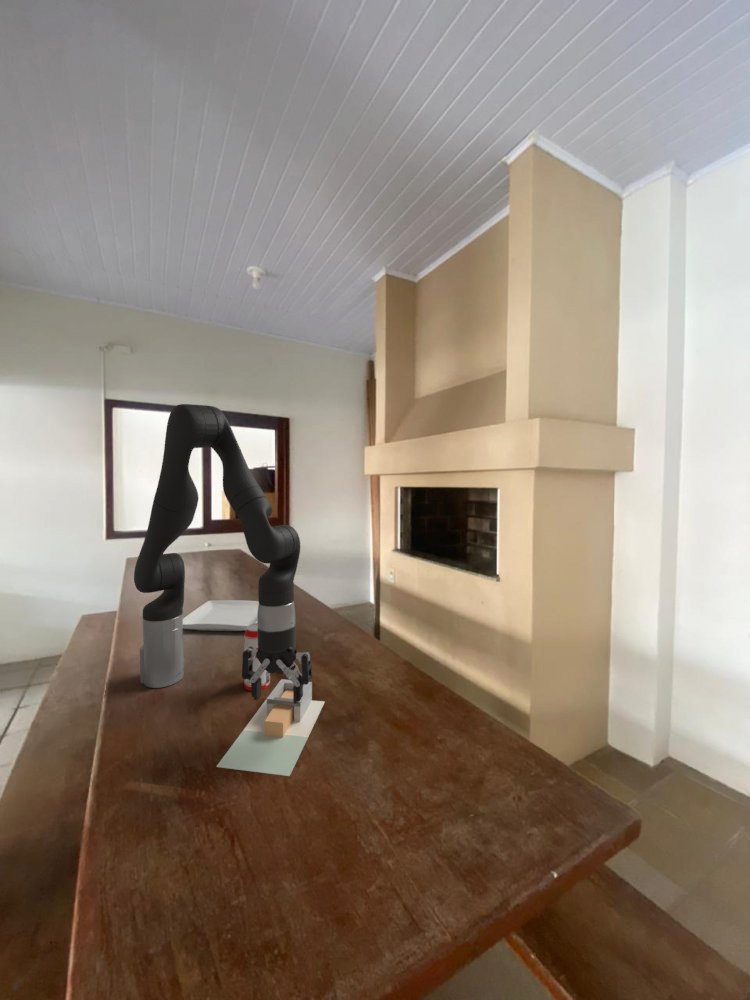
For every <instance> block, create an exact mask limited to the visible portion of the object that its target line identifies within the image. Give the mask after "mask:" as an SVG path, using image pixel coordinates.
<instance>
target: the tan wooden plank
mask: <svg viewBox="0 0 750 1000" xmlns="http://www.w3.org/2000/svg"><path fill="white" fill-rule="evenodd" d="M281 698H288V699H293V690H285V692H284V693H283V695H282V696H281ZM293 719H294V706H286V705H275V706H274V708H273V709H272V711H271V712H270V714H269V715H268V717H267V718H266V719H265V721H264V735H268V736H277V737H284V735H285V733H286V731H287V730H288V728H289V726H290V724H291V723H292V721H293Z"/></svg>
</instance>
